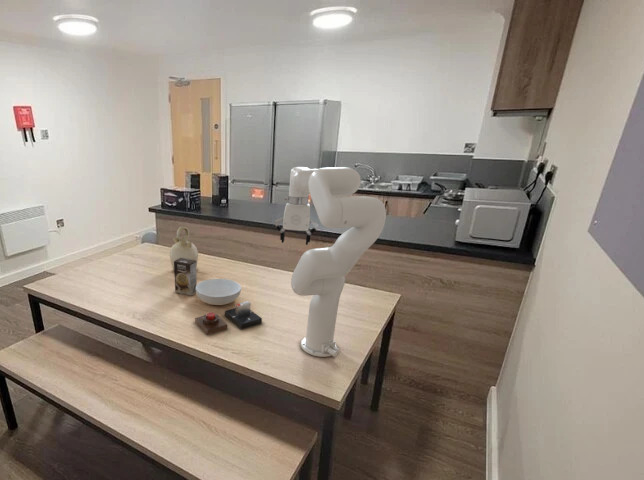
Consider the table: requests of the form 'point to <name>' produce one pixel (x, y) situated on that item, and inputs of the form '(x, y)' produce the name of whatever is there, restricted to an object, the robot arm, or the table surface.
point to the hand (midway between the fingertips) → (294, 242)
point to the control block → (211, 324)
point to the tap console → (243, 319)
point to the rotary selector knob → (243, 308)
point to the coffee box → (185, 276)
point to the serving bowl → (218, 291)
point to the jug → (183, 248)
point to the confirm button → (210, 316)
